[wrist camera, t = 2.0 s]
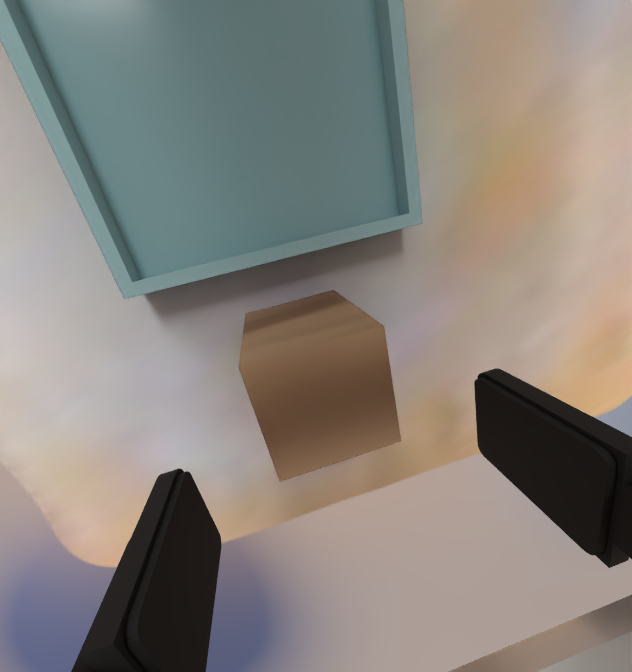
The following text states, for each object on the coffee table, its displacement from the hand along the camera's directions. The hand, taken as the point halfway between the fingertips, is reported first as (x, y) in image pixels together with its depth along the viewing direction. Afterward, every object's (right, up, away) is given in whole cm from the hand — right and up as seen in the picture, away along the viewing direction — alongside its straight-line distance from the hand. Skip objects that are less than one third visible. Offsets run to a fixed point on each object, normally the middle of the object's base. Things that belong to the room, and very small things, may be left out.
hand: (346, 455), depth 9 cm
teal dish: (-4, +14, +4) cm, 15 cm away
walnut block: (-2, +3, +8) cm, 9 cm away
